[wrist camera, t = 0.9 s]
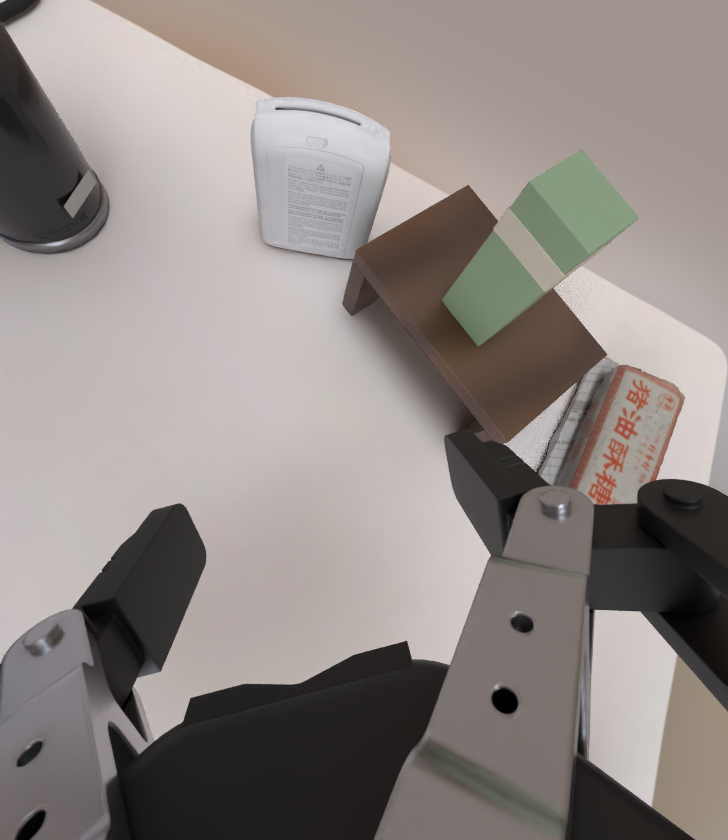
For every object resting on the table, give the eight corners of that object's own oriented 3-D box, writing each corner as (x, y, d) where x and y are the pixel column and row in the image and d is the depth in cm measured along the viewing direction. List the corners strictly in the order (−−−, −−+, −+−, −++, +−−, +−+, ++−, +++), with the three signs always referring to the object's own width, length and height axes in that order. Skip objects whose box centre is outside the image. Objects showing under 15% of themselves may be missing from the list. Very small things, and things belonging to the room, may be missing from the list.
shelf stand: (342, 304, 35) (355, 249, 28) (433, 247, 39) (468, 184, 31) (459, 455, 34) (507, 442, 27) (543, 384, 38) (608, 354, 30)
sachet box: (439, 300, 28) (528, 180, 18) (477, 274, 29) (581, 147, 19) (477, 348, 28) (590, 255, 17) (514, 320, 29) (641, 217, 18)
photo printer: (367, 228, 38) (401, 102, 26) (365, 265, 37) (400, 153, 25) (262, 209, 36) (247, 65, 24) (257, 248, 35) (239, 119, 23)
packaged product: (655, 570, 30) (555, 504, 30) (607, 560, 35) (520, 503, 35) (714, 393, 35) (628, 335, 35) (665, 406, 40) (589, 354, 39)
